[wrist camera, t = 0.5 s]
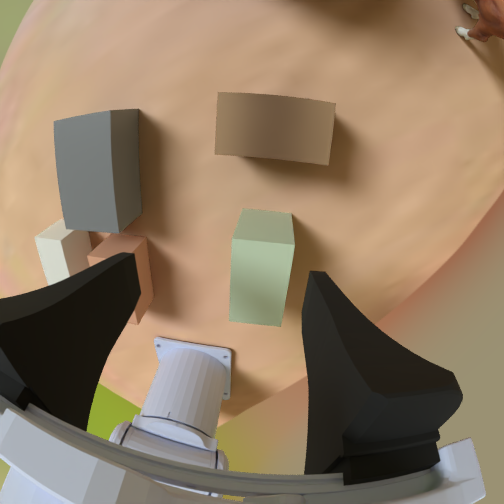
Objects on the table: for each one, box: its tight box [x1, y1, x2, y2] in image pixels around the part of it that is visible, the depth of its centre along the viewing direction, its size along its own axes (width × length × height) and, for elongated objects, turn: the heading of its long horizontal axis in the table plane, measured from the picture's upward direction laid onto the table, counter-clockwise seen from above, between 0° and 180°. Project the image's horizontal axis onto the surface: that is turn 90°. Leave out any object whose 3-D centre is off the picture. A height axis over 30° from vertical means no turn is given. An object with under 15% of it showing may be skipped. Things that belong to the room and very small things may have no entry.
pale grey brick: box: [35, 219, 92, 285], centre depth 21 cm, size 6×3×4 cm, turn 176°
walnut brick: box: [215, 92, 336, 166], centre depth 15 cm, size 6×3×4 cm, turn 86°
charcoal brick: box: [54, 109, 142, 233], centre depth 17 cm, size 8×5×4 cm, turn 177°
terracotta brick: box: [87, 234, 154, 325], centre depth 21 cm, size 6×3×4 cm, turn 176°
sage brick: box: [229, 208, 295, 327], centre depth 19 cm, size 6×3×5 cm, turn 176°
